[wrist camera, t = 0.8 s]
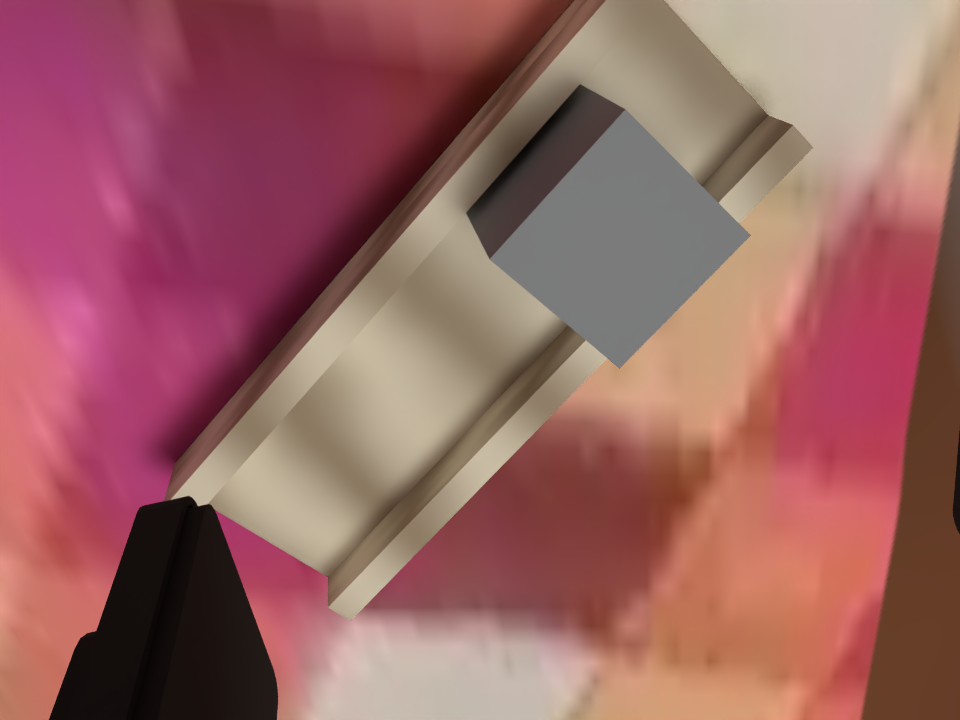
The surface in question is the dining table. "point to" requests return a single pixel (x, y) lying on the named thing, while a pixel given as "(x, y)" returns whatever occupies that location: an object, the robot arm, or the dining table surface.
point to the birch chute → (457, 316)
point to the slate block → (603, 225)
